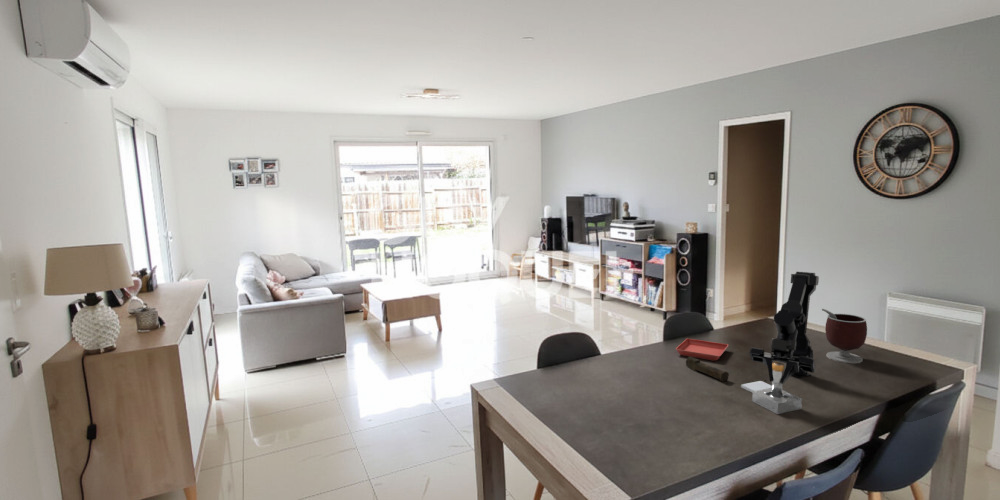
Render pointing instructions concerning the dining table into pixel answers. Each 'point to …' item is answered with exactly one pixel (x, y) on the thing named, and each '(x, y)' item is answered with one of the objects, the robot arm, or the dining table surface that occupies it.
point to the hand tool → (706, 369)
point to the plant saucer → (701, 349)
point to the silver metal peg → (777, 380)
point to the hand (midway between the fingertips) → (776, 382)
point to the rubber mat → (756, 386)
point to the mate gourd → (845, 336)
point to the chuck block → (777, 401)
